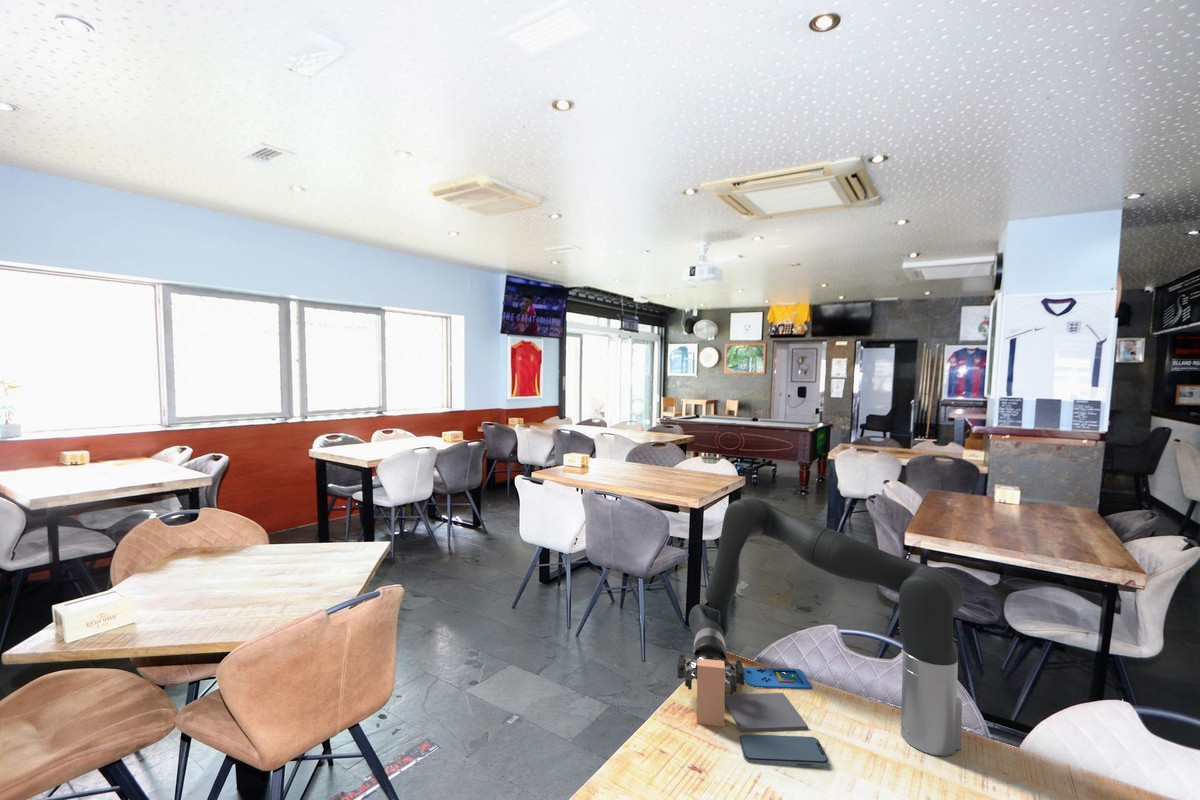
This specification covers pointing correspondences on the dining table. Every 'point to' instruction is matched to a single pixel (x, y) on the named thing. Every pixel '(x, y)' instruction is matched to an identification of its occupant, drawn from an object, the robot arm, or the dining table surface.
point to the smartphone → (783, 750)
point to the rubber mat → (763, 712)
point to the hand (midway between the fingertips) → (710, 687)
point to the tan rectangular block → (710, 692)
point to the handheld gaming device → (776, 678)
